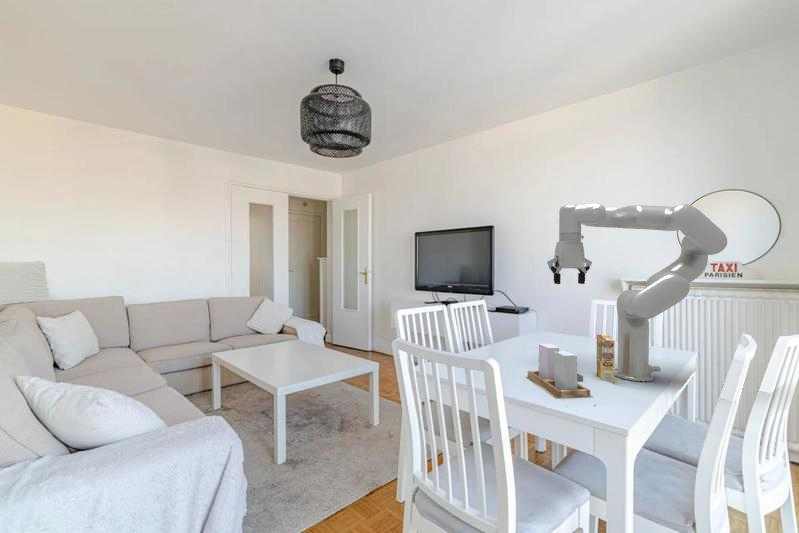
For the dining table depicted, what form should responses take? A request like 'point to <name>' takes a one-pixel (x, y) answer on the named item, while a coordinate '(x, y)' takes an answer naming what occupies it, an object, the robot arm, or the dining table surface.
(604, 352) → the candy box
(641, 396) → the dining table surface
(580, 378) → the grey square holder
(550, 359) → the seated billet
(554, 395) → the wooden divided tray
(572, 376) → the skincare box
